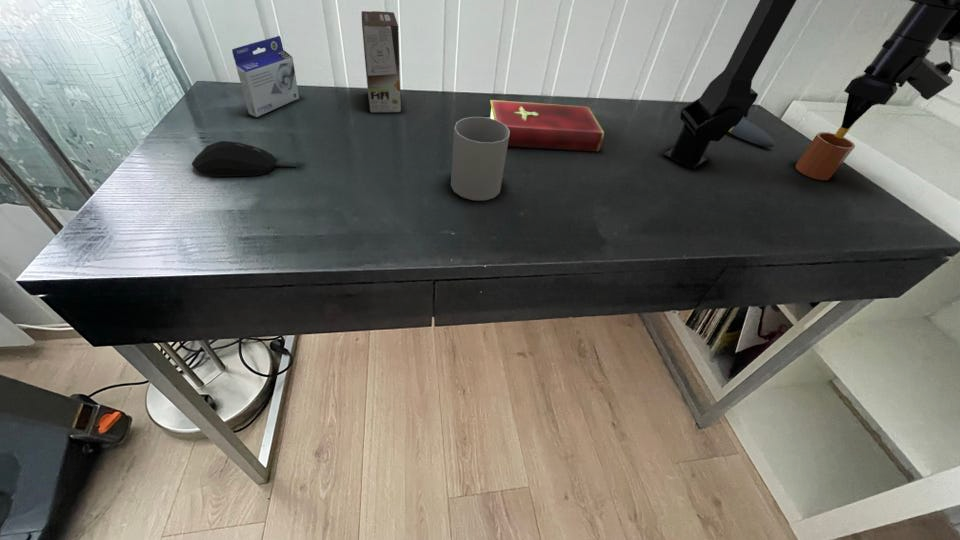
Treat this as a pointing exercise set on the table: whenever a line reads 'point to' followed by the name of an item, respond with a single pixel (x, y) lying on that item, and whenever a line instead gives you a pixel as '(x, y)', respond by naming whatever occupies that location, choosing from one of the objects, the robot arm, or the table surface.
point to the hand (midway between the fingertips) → (845, 126)
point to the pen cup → (824, 156)
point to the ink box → (266, 76)
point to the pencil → (842, 132)
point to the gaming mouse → (234, 160)
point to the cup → (479, 157)
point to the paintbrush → (751, 134)
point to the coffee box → (382, 60)
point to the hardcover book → (548, 125)
